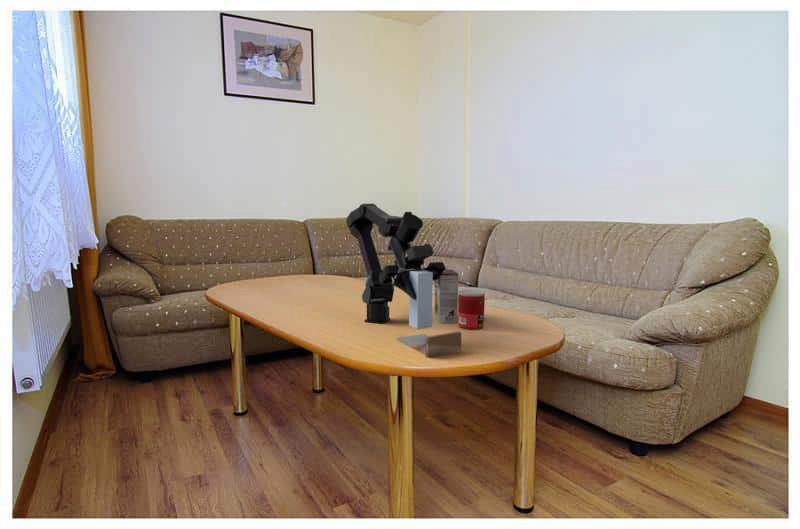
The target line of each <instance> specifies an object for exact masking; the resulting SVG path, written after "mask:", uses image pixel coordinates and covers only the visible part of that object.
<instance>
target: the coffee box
mask: <svg viewBox="0 0 800 529" xmlns="http://www.w3.org/2000/svg"><path fill="white" fill-rule="evenodd" d="M458 294H459V273H458V272H457V271H455V270H454V269H445V270H444V272H443V273H442V275H441V276H440V278H439V279H438V280H434V318H435V319H436V321H437V322H438V324H453V323H454V324H458Z"/></svg>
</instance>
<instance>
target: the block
mask: <svg viewBox="0 0 800 529" xmlns="http://www.w3.org/2000/svg"><path fill="white" fill-rule="evenodd" d="M409 278H410V282H411V284H412V286H413V289H414V291H415V293H416V297H417V298H416V300H414V299H412V298H411V297H410V296H409V295H408V296H409V298H408V299H409V302H408V303H409V304H408V305H409V308H408V310H409V312H408V314H409V316H408V324H409V326H410V327H412V328H413V329H414V328H415V329H416V330H421V329H427V328H432V327H433V281H434V280H433V272H429V271H425V270H419V271H410V276H409Z"/></svg>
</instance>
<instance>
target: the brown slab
mask: <svg viewBox="0 0 800 529" xmlns="http://www.w3.org/2000/svg"><path fill="white" fill-rule="evenodd" d="M411 348H412V349H413V350H416V351H418V352H419V353H421V354H423V355H425V357H426V358H433V357H438V356H444V355H445V356H446V355H449V354H455V353H461V352H462V332H461V331H453V332H447V333H440V334H439V333H438V334H435V335H428V336H426V337H425V346H424V345H422V344H420V343H418V342H412V347H411Z"/></svg>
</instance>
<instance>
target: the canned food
mask: <svg viewBox="0 0 800 529" xmlns="http://www.w3.org/2000/svg"><path fill="white" fill-rule="evenodd" d="M485 298H486V297H485V291H482V290H479V289H478V290H477V289H461V290H460V291H459V290H458V317H457V325H458V328H460V329H463V330H466V329H468V330H469V331H476V330H477V329H479V330H482V329H483V328H484V327H485V300H486V299H485Z"/></svg>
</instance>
